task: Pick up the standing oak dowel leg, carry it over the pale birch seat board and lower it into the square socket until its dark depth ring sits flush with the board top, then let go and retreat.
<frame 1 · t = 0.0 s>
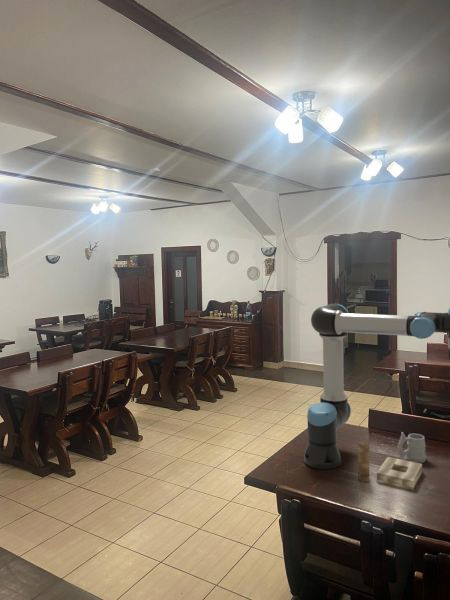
mug: (411, 460, 189), on the table
leg: (363, 479, 173), on the table
seat board: (399, 476, 174), on the table
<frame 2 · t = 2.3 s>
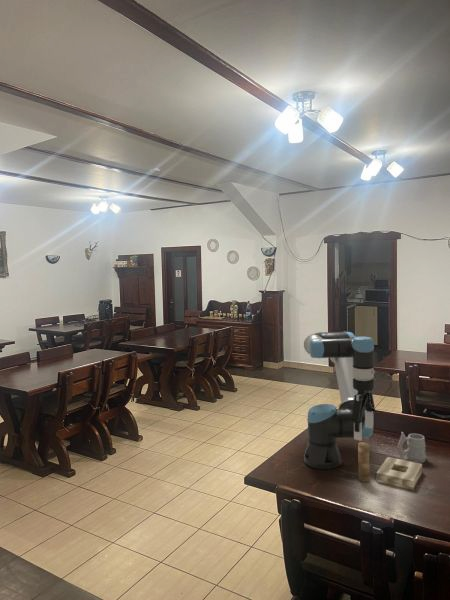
hand: (363, 433, 171), 18 cm above the table, fingers open, 13 cm apart
nothing on the table moved.
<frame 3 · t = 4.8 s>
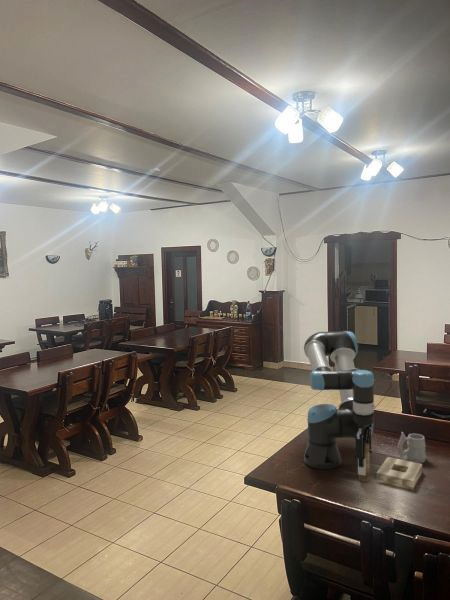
hand: (363, 471, 173), 3 cm above the table, fingers closed on leg, 4 cm apart
leg: (363, 479, 173), on the table, touching gripper
everything else where it was.
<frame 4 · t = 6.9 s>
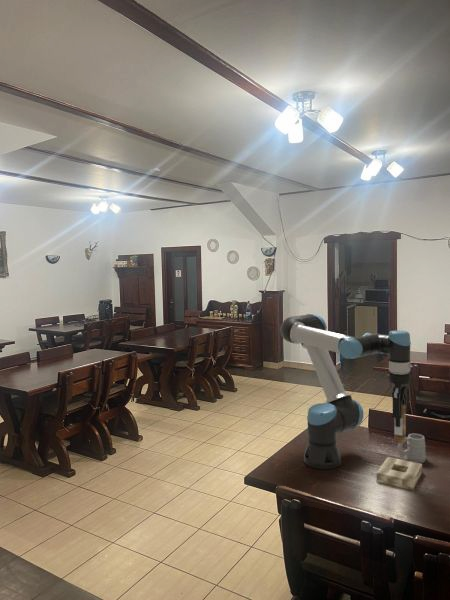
hand: (399, 432, 172), 18 cm above the table, fingers closed on leg, 4 cm apart
leg: (400, 441, 173), point 14 cm above the table, touching gripper
everything else where it was.
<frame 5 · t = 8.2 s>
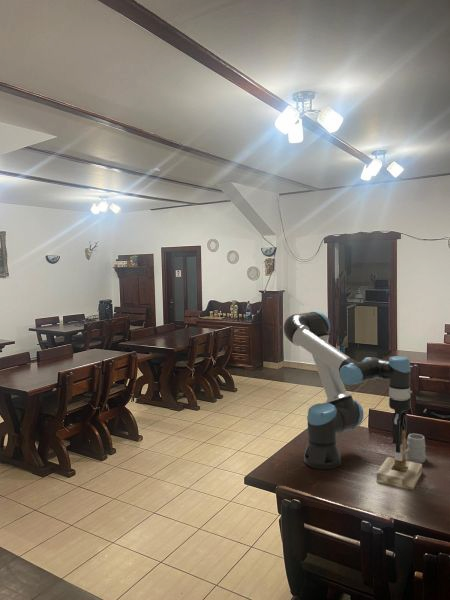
hand: (400, 457, 173), 8 cm above the table, fingers closed on leg, 4 cm apart
leg: (400, 466, 174), point 4 cm above the table, touching gripper
everything else where it was.
when the fingers open (5 cm above the table, at t = 9.3 s): leg stays where it is, resting on seat board.
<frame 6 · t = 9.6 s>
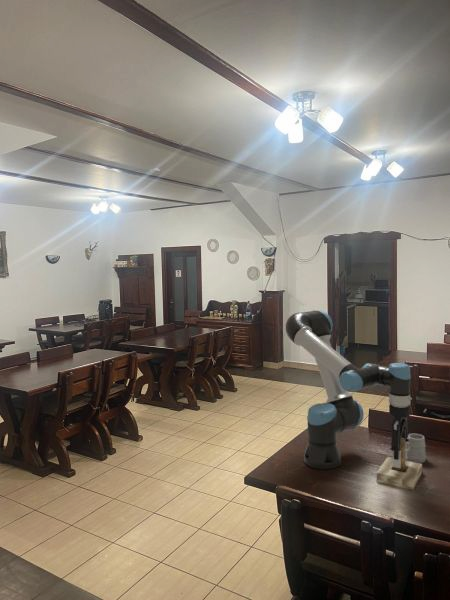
hand: (399, 462, 174), 6 cm above the table, fingers open, 8 cm apart
leg: (399, 474, 174), point 1 cm above the table, touching seat board
everything else where it was.
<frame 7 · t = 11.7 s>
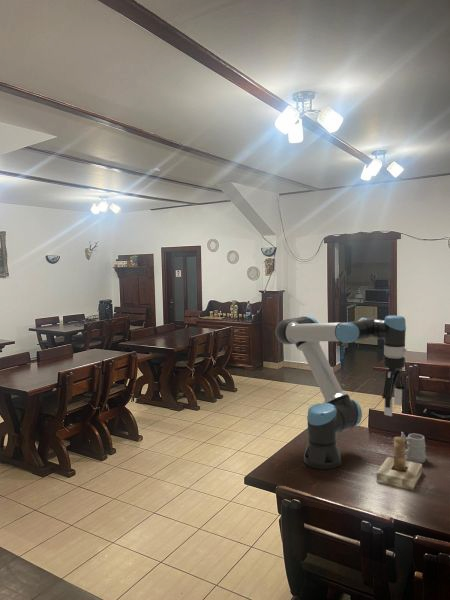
hand: (393, 410, 176), 25 cm above the table, fingers open, 13 cm apart
nothing on the table moved.
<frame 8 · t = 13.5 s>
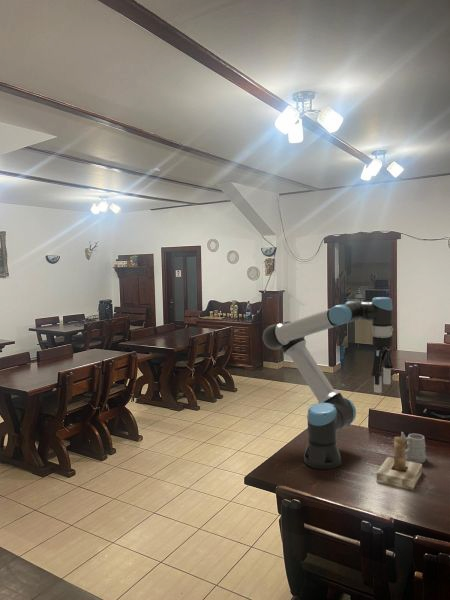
hand: (382, 388, 183), 32 cm above the table, fingers open, 13 cm apart
nothing on the table moved.
at the end: leg 0.0 cm off-centre on the seat board, point 1.1 cm above the seat board's base; leg tilted 1°; the gripper is holding nothing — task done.
